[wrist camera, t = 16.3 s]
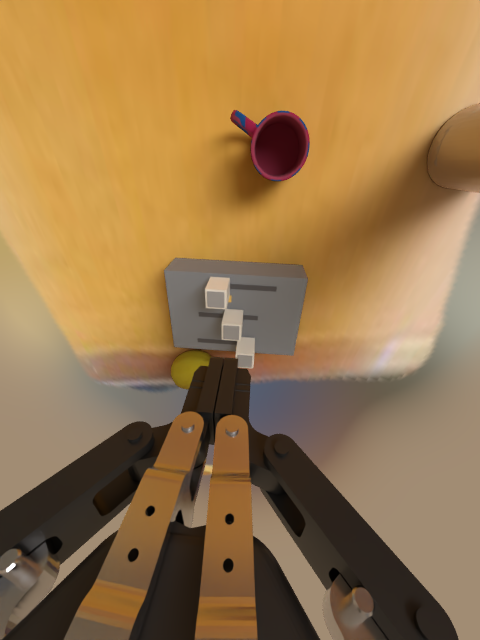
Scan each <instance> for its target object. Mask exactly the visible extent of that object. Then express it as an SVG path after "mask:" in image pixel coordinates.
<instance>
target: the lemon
mask: <svg viewBox="0 0 480 640" xmlns="http://www.w3.org/2000/svg"><path fill="white" fill-rule="evenodd" d="M210 358H211V356H210V355H209V354H208V353H206V352H204V351H201V350H190V351H187V352H184V353H182V354H180V355H179V356H177V357H176V358H175V360H174V362H173V364H172V366H171V377H172V379H173V381H174V382H175V384H176V385H177V386H179V387H180V388H183V389H189V388H190V384H191V381H192V378H193V375H194V372H195V371H196V370H197V369H198V368H199V367H200V366H208V365H209V361H210Z"/></svg>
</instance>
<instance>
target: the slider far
mask: <svg viewBox="0 0 480 640" xmlns="http://www.w3.org/2000/svg"><path fill="white" fill-rule="evenodd" d="M254 352H255V338H248V337H241V341H237V348H236V359H238V367H241V368H253V366H254Z"/></svg>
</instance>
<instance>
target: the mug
mask: <svg viewBox="0 0 480 640" xmlns="http://www.w3.org/2000/svg"><path fill="white" fill-rule="evenodd" d="M230 119H231V121H232V122H233V123H234V124H235V125H237V126H238V127H239V128H240V129H242V130H243V131H244V132H245V133H247V134H248V135H249V136H250V137H251V138H252V141H251V156H252V161H253V163H254V166H255V168H256V169H257V171H258V172H259V173H260V174H261V175H262V176H263V177H265V178H267V179H269V180H272V181H283V180H287V179H289V178H291V177H293V176H294V175H295V174H296V173H297V172H298V171H299V170H300V169H301V168H302V166H303V165H304V163H305V161H306V159H307V156H308V152H309V143H310V142H309V134H308V130H307V128H306V126H305V124H304V122H303V121H302V120H301V119H300V118H299V117H298V116H297V115H295V114H294V113H291V112H289V111H277V112H274V113H271V114H269V115H268V116H266V117H265V118H264V119H263V120H262V121H261V122H260V123H259V124H258V125H257V124H255V123H254V122H253V121H251V120H250V119H249V118H247V117H246V116H245V115H243V114H242V113H240V112H239V111H237V110H234V111H233V113H232V114H231V118H230Z"/></svg>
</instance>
